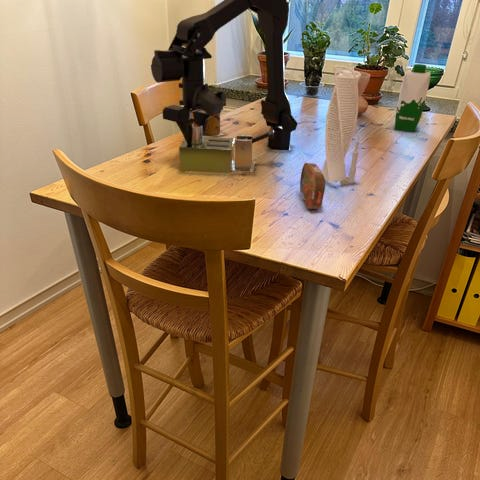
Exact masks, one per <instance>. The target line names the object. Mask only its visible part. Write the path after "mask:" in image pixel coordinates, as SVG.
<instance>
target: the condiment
mask: <svg viewBox="0 0 480 480" xmlns="http://www.w3.org/2000/svg"><path fill="white" fill-rule="evenodd" d="M220 136H226V134H225V133H223V132H221V113H220V114H215V115H214V116H212V117H211V118H210V119H209V120H208V123H207V125H206V129H205V132H204V136H203V137H215V138H216V137H220Z"/></svg>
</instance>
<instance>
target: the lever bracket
mask: <svg viewBox="0 0 480 480" xmlns="http://www.w3.org/2000/svg"><path fill="white" fill-rule="evenodd" d="M246 137H247V138H248V139H244V138H246ZM252 138H254V136H253V135H252V134H236V138H235V148H234V163H233V167H232V172H231V173H237V174H238V173H239V174H254V170H255V164H256V162H255V161H253V143H252V140H250V139H252Z"/></svg>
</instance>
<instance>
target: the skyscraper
mask: <svg viewBox="0 0 480 480" xmlns="http://www.w3.org/2000/svg"><path fill="white" fill-rule="evenodd" d="M332 68H333V74H334V82H335V83H334V87H333V90H332V93H331V97H330V101H329V104H328V109H327V114H326V121H325V135H324V142H325V143H324V145H325V148H324V149H325V161H324V164H323V166H322V169H321V170H320V171H321V172H322V174H323V175H324V178H325V181H327V182H328V183H329V184H330V183H337V182H339V185H340V187H344V186H351V185H356V181H355V178H356V172H357V164H358V163H357V162H358V157H359V151H358V150H359V144H360V141H359V140H360V133H358V134H357V139H356V141H355V147H354V151H352V155H351V156H352V157H351V162H350V167H349V171H348V176H347V171H346V169H347V168H346V161H345V160H346V157H347V154H348V152H349V149H350V147H351V144H352V141H353V138H354V135H355V132H356V128H357V122H358V116H359V115H358V81H359V79H360V76H361V73H360V72H361V71H358V70H354V69H353V68H351V67H349V66H346V65H343V64H335V65H334V66H332ZM337 68H341V69H340V70H339V71H338V72H339V75H337ZM341 72H343V73H341ZM355 73H357V74H359V75H356V74H355Z"/></svg>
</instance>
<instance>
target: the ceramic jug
mask: <svg viewBox="0 0 480 480" xmlns="http://www.w3.org/2000/svg"><path fill="white" fill-rule="evenodd" d="M339 72H340V71H338V72H336V74H337V75H339ZM359 72H360V73H361V76H360V79H359V81H358V116H360V115H362V114H364V113H366V112H367V110H368V108H369V103H368V101H367V100H366V99H365V98H364V97H363V96H362V95H363V94H364V92H365V91H366V88H367V86H368V84H369V82H370V79H371V73H368V72H365V71H359ZM341 73H343V72H341ZM355 74H356V75H359V74H357V73H355Z"/></svg>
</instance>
